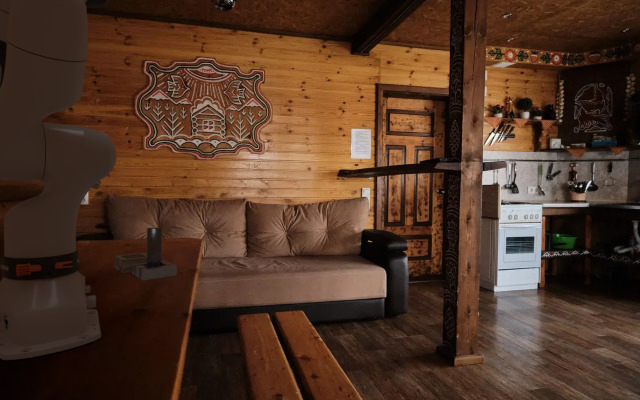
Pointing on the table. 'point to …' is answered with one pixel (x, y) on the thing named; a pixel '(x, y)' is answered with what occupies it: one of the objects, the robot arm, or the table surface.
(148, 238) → the dark rounded handle
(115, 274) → the table surface
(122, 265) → the rack
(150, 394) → the table surface
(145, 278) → the socket
